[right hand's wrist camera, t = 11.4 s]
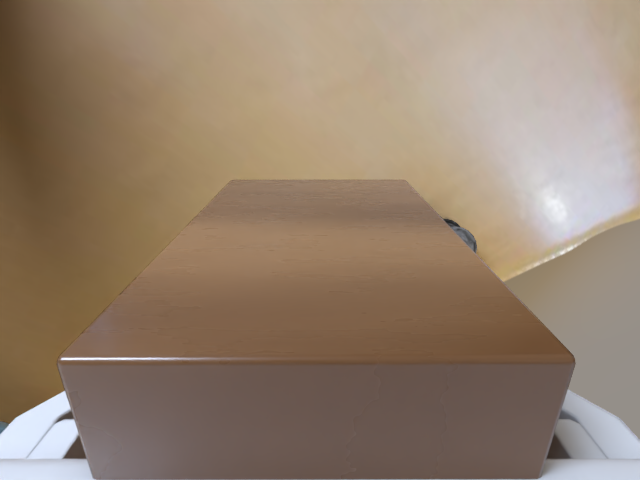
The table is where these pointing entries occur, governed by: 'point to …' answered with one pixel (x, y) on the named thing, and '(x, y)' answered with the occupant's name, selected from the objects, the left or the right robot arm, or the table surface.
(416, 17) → the table surface
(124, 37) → the table surface
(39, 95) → the table surface
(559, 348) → the box
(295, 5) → the table surface
